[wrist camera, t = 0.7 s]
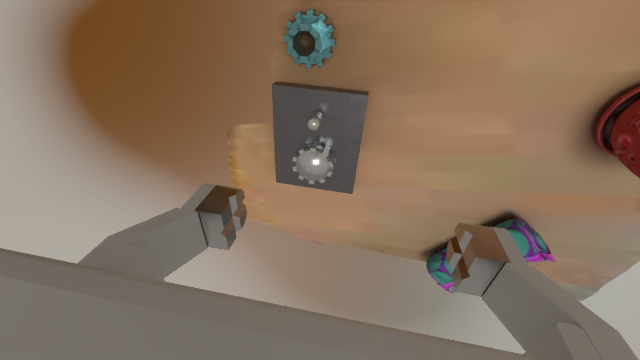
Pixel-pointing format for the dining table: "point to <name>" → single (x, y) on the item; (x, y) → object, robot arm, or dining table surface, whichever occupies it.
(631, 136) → the plant pot
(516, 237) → the pencil case
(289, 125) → the carrier plate
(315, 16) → the planet gear
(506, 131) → the dining table surface
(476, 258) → the robot arm
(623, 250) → the dining table surface
